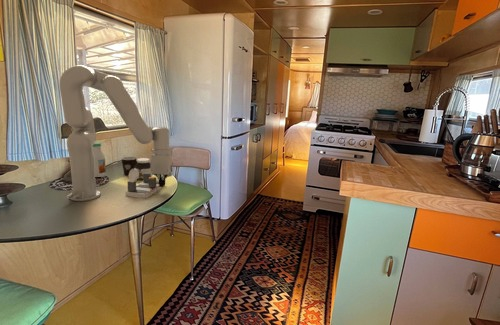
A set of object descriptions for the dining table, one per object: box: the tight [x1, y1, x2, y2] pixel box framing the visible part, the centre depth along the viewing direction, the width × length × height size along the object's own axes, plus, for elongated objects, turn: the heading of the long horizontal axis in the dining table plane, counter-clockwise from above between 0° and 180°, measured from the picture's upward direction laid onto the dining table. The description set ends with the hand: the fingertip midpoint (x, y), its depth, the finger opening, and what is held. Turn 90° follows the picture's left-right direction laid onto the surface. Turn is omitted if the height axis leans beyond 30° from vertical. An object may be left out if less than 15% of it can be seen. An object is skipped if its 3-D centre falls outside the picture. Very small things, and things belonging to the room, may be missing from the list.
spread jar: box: [128, 157, 153, 181], centre depth 159 cm, size 12×11×12 cm
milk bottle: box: [92, 142, 107, 178], centre depth 158 cm, size 8×8×20 cm
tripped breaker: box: [149, 175, 157, 188], centre depth 141 cm, size 3×3×5 cm
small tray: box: [125, 172, 163, 199], centre depth 141 cm, size 20×11×7 cm, turn 172°
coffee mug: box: [121, 156, 138, 176], centre depth 167 cm, size 12×9×10 cm
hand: (162, 186), depth 140 cm, fingers closed
